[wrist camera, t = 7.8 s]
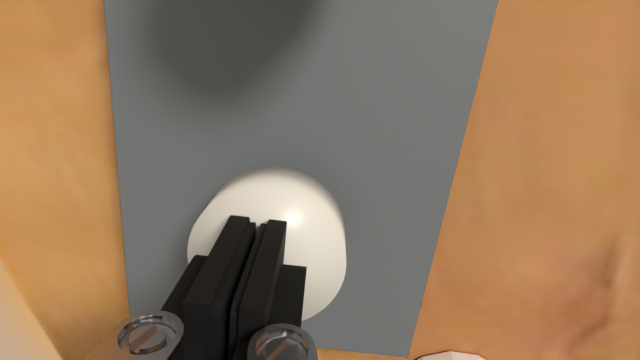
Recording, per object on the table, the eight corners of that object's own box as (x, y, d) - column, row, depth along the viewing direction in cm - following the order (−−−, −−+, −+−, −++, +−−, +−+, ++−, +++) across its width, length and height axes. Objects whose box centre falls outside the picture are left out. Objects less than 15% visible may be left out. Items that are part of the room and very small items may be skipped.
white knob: (350, 149, 15) (357, 199, 11) (335, 252, 17) (335, 334, 12) (231, 135, 15) (186, 179, 11) (228, 239, 17) (188, 317, 12)
